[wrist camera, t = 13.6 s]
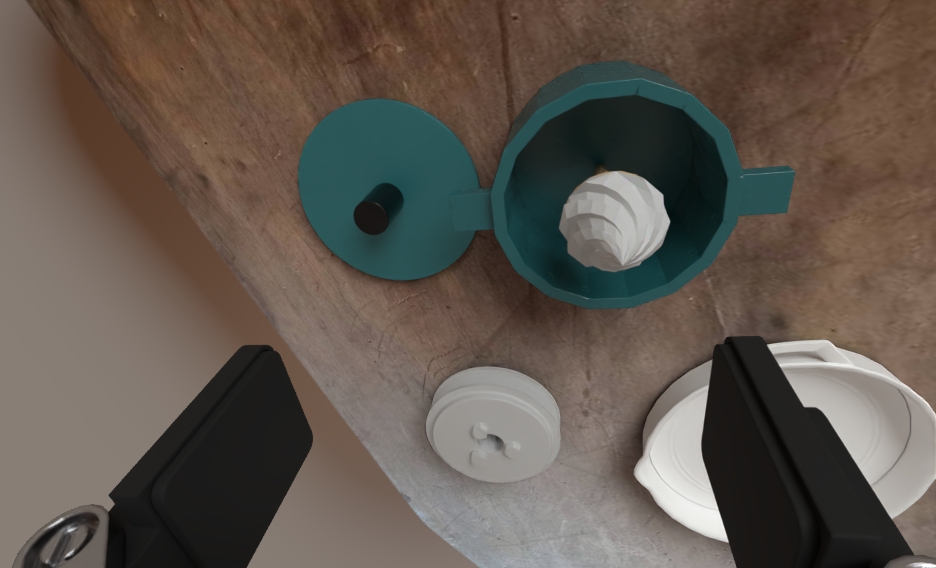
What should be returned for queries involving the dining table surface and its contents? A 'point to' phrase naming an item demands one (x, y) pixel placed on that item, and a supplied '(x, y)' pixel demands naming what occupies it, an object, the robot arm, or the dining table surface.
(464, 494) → the dining table surface
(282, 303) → the dining table surface
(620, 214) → the ice cream cone
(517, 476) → the lid
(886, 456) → the pan
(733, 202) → the pot
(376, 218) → the pot lid
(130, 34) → the dining table surface
